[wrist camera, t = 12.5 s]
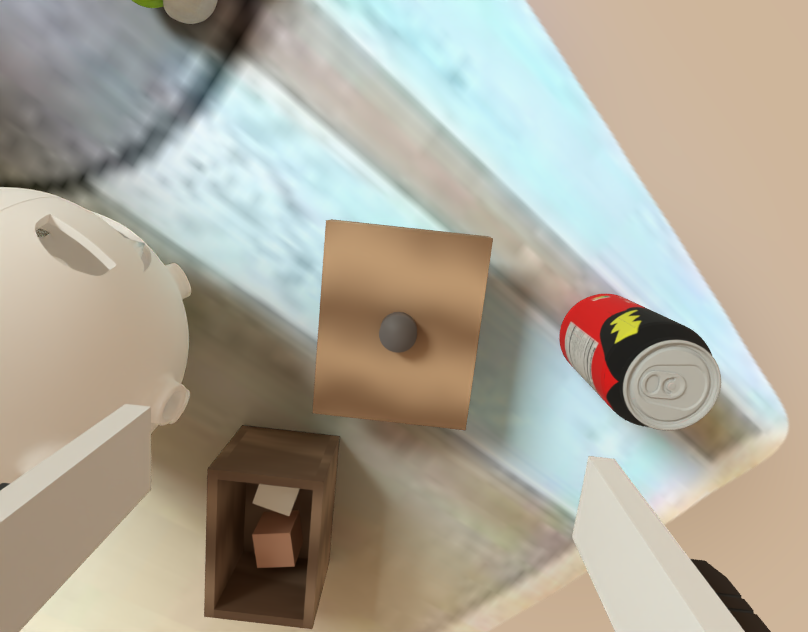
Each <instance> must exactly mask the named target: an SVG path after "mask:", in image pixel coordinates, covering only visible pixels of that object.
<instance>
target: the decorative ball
mask: <svg viewBox="0 0 808 632" xmlns="http://www.w3.org/2000/svg"><path fill="white" fill-rule="evenodd" d="M39 228H40V229H43V230H46V231H48V232H49V233H50V234H48V235H47V236H44V237H37V234H36V230H37V229H39ZM190 295H191V287H190V283H189V281H188V279H187V277H186V275H185V273H184V271H183V270H182V269H181V268H180V267H179V265H177V264H176V263H171V264H169V265H164V264H163V263H162V261H161V260H160V259H159V257H158V256H157V255H156V254H155V253H154V251H153V250H152V249H151V248H150V247H149V246H148V245H147V244H146V243H145V242H144V241H143V240H142V239H141V238H140V237H138V236H137V235H136V234H135V233H134V232H132V231H131V230H130V229H128V228H127V227H125V226H123V225H122V224H120V223H118V222H116V221H114V220H112V219H110V218H108V217H105V216H103V215H100V214H97V213H96V212H93V211H90V210H87V209H85V208H83V207H81V206H79V205H77V204H75V203H73V202H71V201H69V200H66V199H63V198H61V197H59V196H56V195H53V194H50V193H46V192H42V191H37V190H32V189H24V188H11V187H0V484H1V483H12V482H13V481H15V480H16V479H18V478H19V477H21V476H22V475H24V474H25V473H26V472H28V471H29V470H31V469H32V468H34V467H35V466H37V465H38V464H39V463H41V462H42V461H44V460H45V459H47V458H48V457H50V456H51V455H52V454H54V453H55V452H57V451H58V450H60V449H61V448H63V447H64V446H65V445H67V444H68V443H70V442H71V441H73V440H74V439H76V438H77V437H78V436H80V435H81V434H83V433H84V432H86V431H87V430H89V429H90V428H91V427H93V426H94V425H96V424H97V423H99V422H100V421H102V420H103V419H104V418H106V417H107V416H109V415H110V414H112V413H113V412H115V411H116V410H117V409H119V408H120V407H122V406H123V405H125V404H131V405H140V406H148V407H151V433H152V432H153V431H154V430H155V429H156V427H157V426H158V425H161V426H163V425H166V424H168V423H169V424H173V423H175V422H176V421H177V420H178V419H179V418H180V416H181V415H182V413H183V412H184V410H185V408H186V406H187V404H188V401H189V398H190V391H189V390H188V389H186V388H185V386H184V385H183V384H181V383H182V380H183V377H184V374H185V369H186V365H187V359H188V351H189V330H188V322H187V316H186V312H185V308H184V304H183V301H182V300H183V299H184V298H186V297H189V296H190Z"/></svg>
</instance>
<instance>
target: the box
mask: <svg viewBox="0 0 808 632" xmlns="http://www.w3.org/2000/svg"><path fill="white" fill-rule="evenodd" d="M339 438H340V436H333V435H324V434H315V433H306V432H297V431H288V430H279V429H270V428H262V427H253V426H244V425H242V426H241V428H240V429H239V430H238V431H237V433H236V434H235V435H234V436H233V438H232V439H231V440H230V442H229V443H228V444H227V445H226V447H225V448H224V449H223V450H222V452H221V453H220V454H219V455H218V457H217V458H216V459H215V460H214V462H213V463H212V464H211V465H210V467H209V468H208V476H207V520H206V563H205V607H204V617H212V618H221V619H229V620H238V621H247V622H256V623H264V624H273V625H282V626H290V627H299V628H308V629H312V628H313V624H314V620H315V616H316V612H317V609H318V605H319V601H320V597H321V593H322V589H323V585H324V581H325V577H326V573H327V569H328V565H329V557H330V545H331V533H332V521H333V509H334V497H335V485H336V474H337V462H338V450H339ZM259 484H263V485H272V486H281V487H290V488H299V489H300V491H299V494H298V497H297V499H296V501H295V504H294V506H293V509H292V511H293V510H299V513H300V521H301V529H302V537H303V544H302V547H301V549H300V552H299V555H298V558H297V561H296V564H295V567H269V568H257V563H256V557H255V550H254V543H253V537H252V534H253V532H254V530H255V528H256V526H257V524H258V522H259V520H260V518H261V516H262V514H263V512H271V511H272V510H270V509H267V508H264V507H261V506H258V505H256V504H253V500H254V497H255V494H256V491H257V489H258V486H259Z"/></svg>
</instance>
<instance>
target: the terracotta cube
mask: <svg viewBox="0 0 808 632" xmlns="http://www.w3.org/2000/svg"><path fill="white" fill-rule="evenodd" d="M252 537H253V543H254V550H255V557H256V563H257V568H269V567H295V564H296V561H297V558H298V555H299V552H300V549H301V547H302V544H303V537H302V529H301V521H300V513H299V510H293V511H291V513H290V516H286V515H284V514H281V513H278V512H275V511H271V512H263V514H262V516H261V518H260V520H259V522H258V524H257V526H256V528H255V530H254V532H253V534H252Z"/></svg>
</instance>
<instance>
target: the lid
mask: <svg viewBox="0 0 808 632" xmlns="http://www.w3.org/2000/svg"><path fill="white" fill-rule="evenodd" d="M492 242H493V238H491V237H488V236H479V235H470V234H461V233H452V232H442V231H433V230H424V229H415V228H406V227H396V226H387V225H378V224H369V223H360V222H350V221H341V220H332V219H331V220H326V229H325V243H324V257H323V271H322V286H321V300H320V314H319V328H318V342H317V356H316V370H315V384H314V399H313V413H316V414H325V415H334V416H343V417H351V418H360V419H369V420H378V421H387V422H396V423H405V424H414V425H423V426H432V427H441V428H450V429H459V430H466V424H467V417H468V410H469V403H470V396H471V389H472V382H473V375H474V368H475V361H476V354H477V347H478V340H479V333H480V326H481V319H482V312H483V305H484V298H485V291H486V284H487V277H488V270H489V263H490V256H491V249H492Z"/></svg>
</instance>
